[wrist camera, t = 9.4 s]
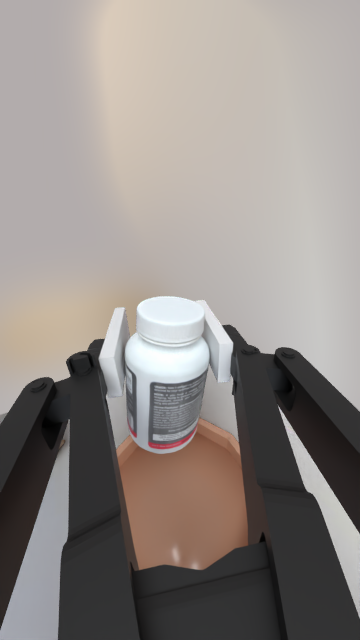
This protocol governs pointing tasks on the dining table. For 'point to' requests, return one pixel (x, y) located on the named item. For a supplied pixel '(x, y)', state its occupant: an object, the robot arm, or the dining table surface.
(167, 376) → the pill bottle
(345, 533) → the dining table surface
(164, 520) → the bowl
